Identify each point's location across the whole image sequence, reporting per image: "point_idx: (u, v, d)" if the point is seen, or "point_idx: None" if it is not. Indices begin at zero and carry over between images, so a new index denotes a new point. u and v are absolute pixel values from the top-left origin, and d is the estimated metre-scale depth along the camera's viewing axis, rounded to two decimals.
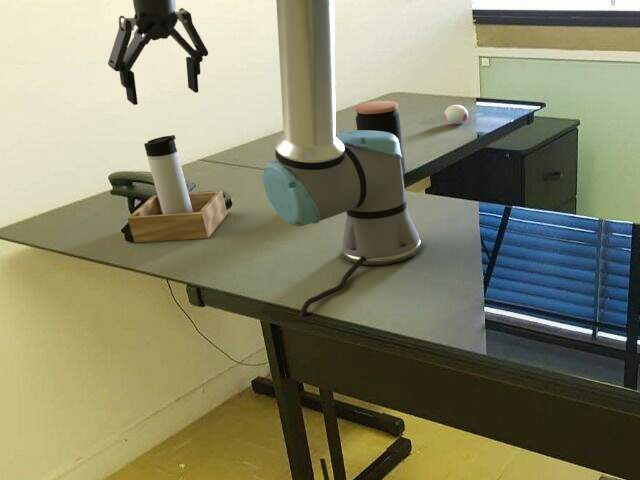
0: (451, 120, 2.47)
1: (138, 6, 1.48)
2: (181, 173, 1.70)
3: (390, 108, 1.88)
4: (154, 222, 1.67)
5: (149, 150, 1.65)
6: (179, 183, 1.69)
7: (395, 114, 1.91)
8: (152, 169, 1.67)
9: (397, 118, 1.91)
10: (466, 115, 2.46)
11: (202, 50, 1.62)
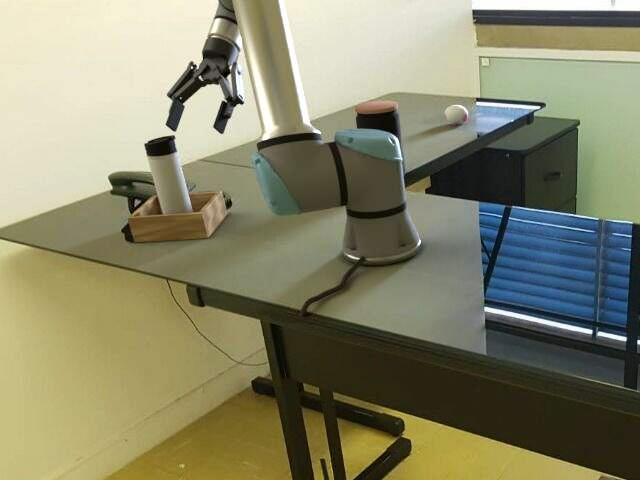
0: (451, 120, 2.47)
1: None
2: (181, 173, 1.70)
3: (390, 108, 1.88)
4: (154, 222, 1.67)
5: (149, 150, 1.65)
6: (179, 183, 1.69)
7: (395, 114, 1.91)
8: (152, 169, 1.67)
9: (397, 118, 1.91)
10: (466, 115, 2.46)
11: (233, 93, 1.72)
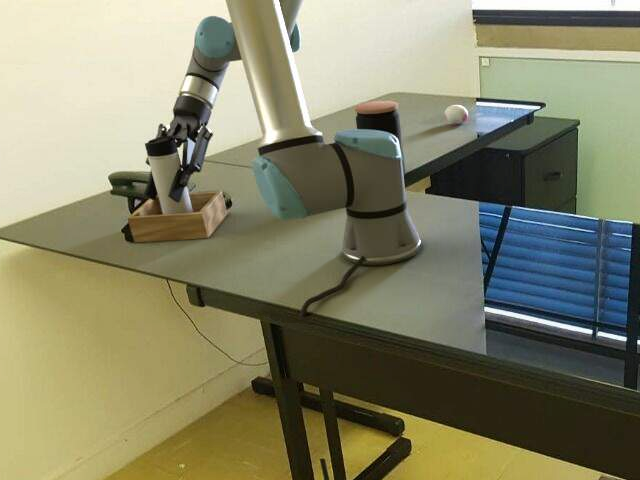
0: (451, 120, 2.47)
1: None
2: None
3: (390, 108, 1.88)
4: (154, 222, 1.67)
5: (149, 150, 1.65)
6: None
7: (395, 114, 1.91)
8: (152, 169, 1.67)
9: (397, 118, 1.91)
10: (466, 115, 2.46)
11: (191, 160, 1.68)
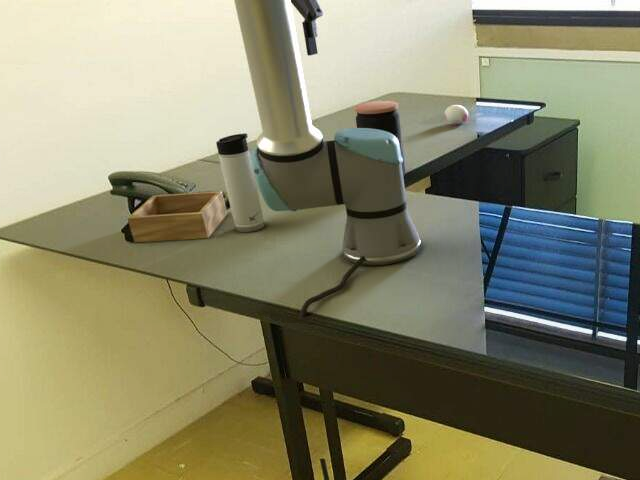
0: (451, 120, 2.47)
1: None
2: (252, 172, 1.67)
3: (390, 108, 1.88)
4: (154, 222, 1.67)
5: (221, 148, 1.62)
6: (250, 182, 1.66)
7: (395, 114, 1.91)
8: (224, 168, 1.64)
9: (397, 118, 1.91)
10: (466, 115, 2.46)
11: (310, 10, 1.62)
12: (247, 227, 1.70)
